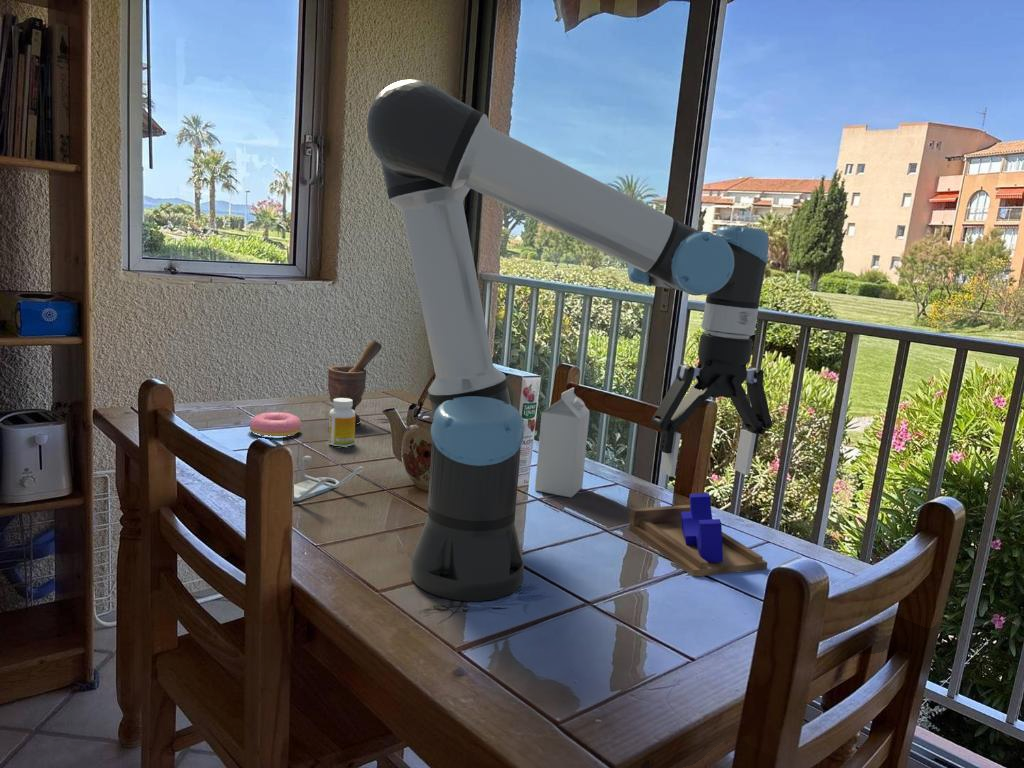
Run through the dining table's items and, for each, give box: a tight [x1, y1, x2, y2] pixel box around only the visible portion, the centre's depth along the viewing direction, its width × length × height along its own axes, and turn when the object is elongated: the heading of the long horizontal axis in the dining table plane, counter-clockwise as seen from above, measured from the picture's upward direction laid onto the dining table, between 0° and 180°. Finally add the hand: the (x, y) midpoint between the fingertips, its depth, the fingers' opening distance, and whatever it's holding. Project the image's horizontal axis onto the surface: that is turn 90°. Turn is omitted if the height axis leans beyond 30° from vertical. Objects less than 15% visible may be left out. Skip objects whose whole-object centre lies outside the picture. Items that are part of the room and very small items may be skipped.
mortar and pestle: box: [327, 340, 382, 424], centre depth 173 cm, size 12×9×20 cm
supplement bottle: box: [327, 398, 356, 447], centre depth 155 cm, size 5×5×10 cm
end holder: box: [628, 504, 768, 578], centre depth 115 cm, size 13×18×4 cm
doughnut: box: [248, 411, 303, 436], centre depth 161 cm, size 11×11×4 cm
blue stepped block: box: [681, 492, 723, 562], centre depth 113 cm, size 12×4×6 cm, turn 174°
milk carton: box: [534, 387, 591, 499], centre depth 137 cm, size 7×7×19 cm
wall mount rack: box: [293, 455, 364, 503], centre depth 125 cm, size 16×14×6 cm
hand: (705, 473), depth 112 cm, fingers open, 13 cm apart
